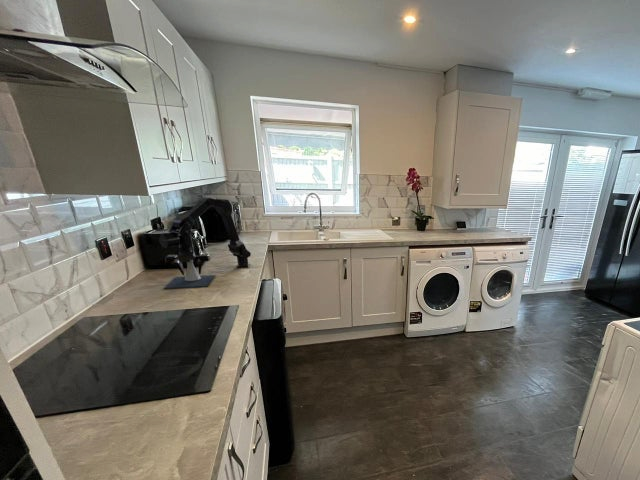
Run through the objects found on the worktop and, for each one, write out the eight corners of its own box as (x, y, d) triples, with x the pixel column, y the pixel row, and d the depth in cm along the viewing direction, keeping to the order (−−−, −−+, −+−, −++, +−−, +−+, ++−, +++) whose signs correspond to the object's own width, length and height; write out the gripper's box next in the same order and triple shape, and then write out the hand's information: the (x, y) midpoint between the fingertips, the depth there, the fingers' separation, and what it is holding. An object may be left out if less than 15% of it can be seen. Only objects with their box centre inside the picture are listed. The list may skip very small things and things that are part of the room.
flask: (185, 277, 167) (181, 259, 163) (202, 276, 170) (198, 258, 166) (183, 282, 161) (179, 262, 157) (200, 280, 164) (197, 261, 160)
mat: (176, 277, 168) (176, 276, 168) (215, 276, 173) (214, 275, 173) (164, 289, 152) (164, 288, 152) (207, 286, 158) (207, 285, 157)
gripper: (157, 248, 149) (165, 280, 154) (203, 247, 154) (209, 278, 160) (165, 243, 159) (172, 273, 164) (208, 242, 164) (213, 272, 170)
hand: (191, 274), depth 164 cm, fingers open, 7 cm apart
